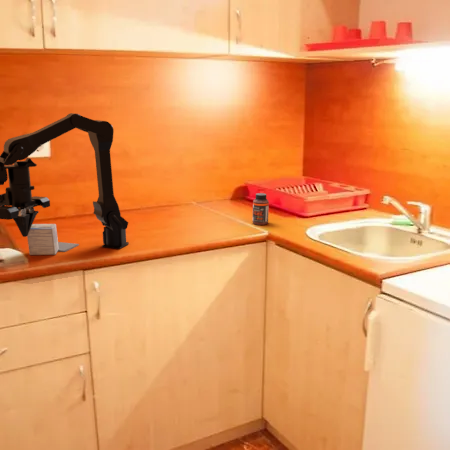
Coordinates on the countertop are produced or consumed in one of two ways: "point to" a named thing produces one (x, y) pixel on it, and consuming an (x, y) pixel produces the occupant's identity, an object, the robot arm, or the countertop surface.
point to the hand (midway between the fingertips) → (24, 236)
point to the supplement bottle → (260, 209)
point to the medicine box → (43, 239)
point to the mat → (66, 246)
